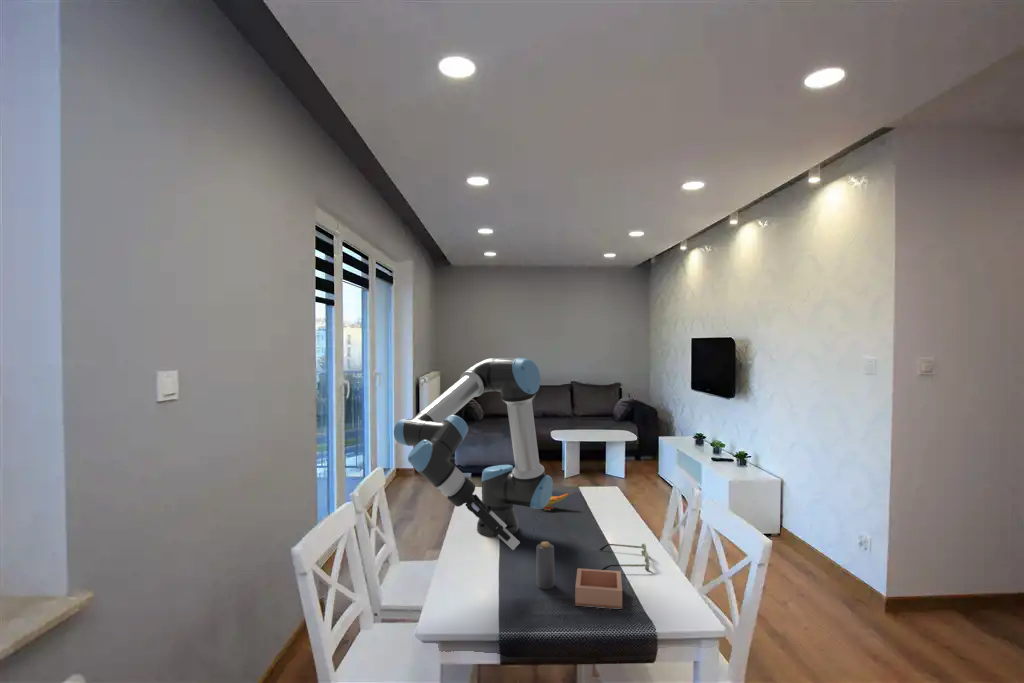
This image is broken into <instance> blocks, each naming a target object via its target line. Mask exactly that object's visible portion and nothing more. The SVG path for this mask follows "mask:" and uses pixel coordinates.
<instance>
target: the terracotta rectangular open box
mask: <svg viewBox="0 0 1024 683" xmlns="http://www.w3.org/2000/svg"><path fill="white" fill-rule="evenodd" d="M621 572H622V571H621V570H607V569H605V570H601V569H592V568H579V567H578V568H577V570H576V578H575V587H574V588H575V590H574V592H575V593H574V595H575V596H574V597H575V599H574V602H575V604H574V606H593V607H605V608H620V609H622V610H623V585H622V584H623V583H622V573H621Z"/></svg>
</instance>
